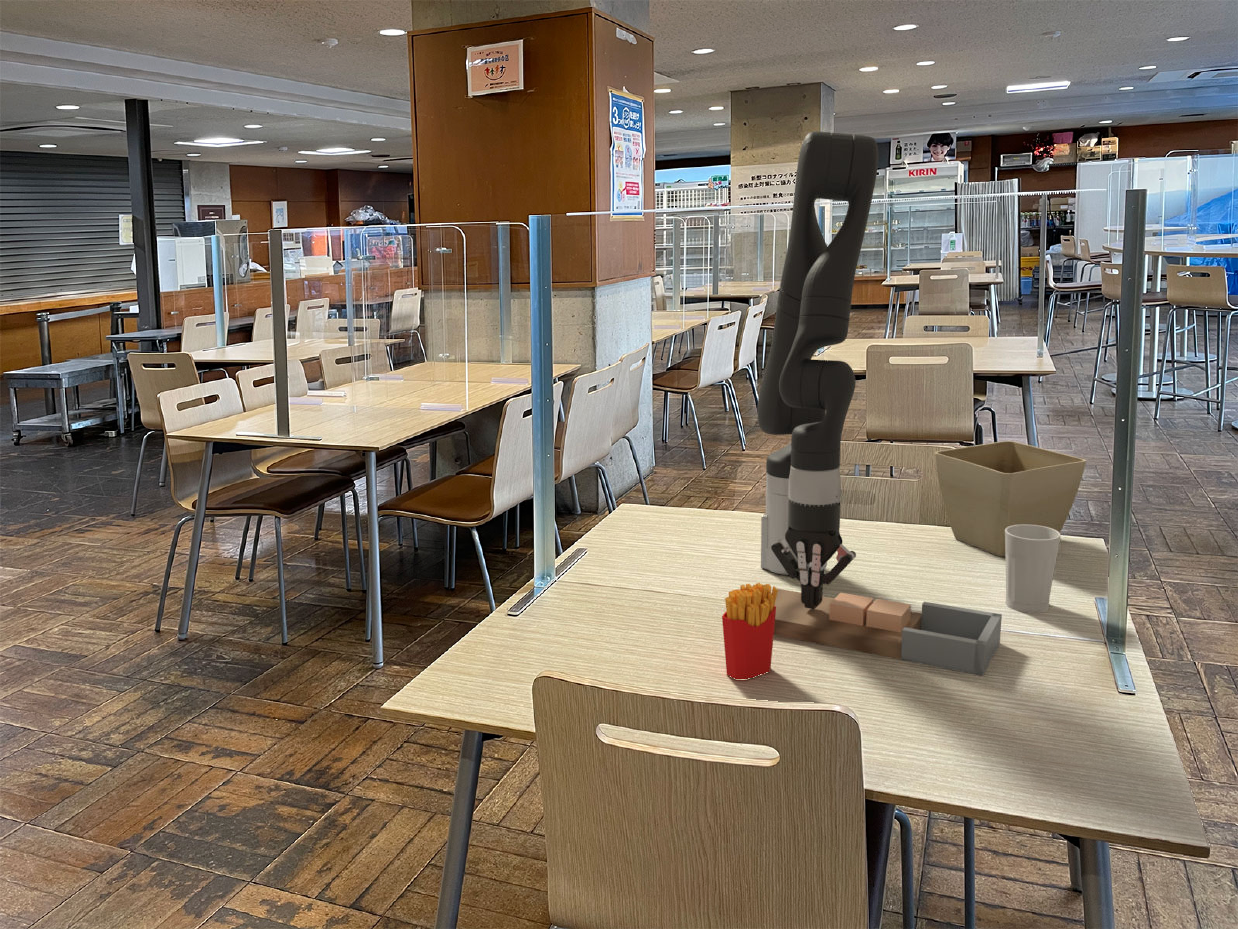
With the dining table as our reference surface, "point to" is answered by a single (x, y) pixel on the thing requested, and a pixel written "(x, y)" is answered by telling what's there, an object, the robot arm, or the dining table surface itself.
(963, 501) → the flower pot
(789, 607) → the board
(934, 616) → the tray
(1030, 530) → the cup
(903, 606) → the tile
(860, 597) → the tile
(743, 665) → the french fries
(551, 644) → the dining table surface
